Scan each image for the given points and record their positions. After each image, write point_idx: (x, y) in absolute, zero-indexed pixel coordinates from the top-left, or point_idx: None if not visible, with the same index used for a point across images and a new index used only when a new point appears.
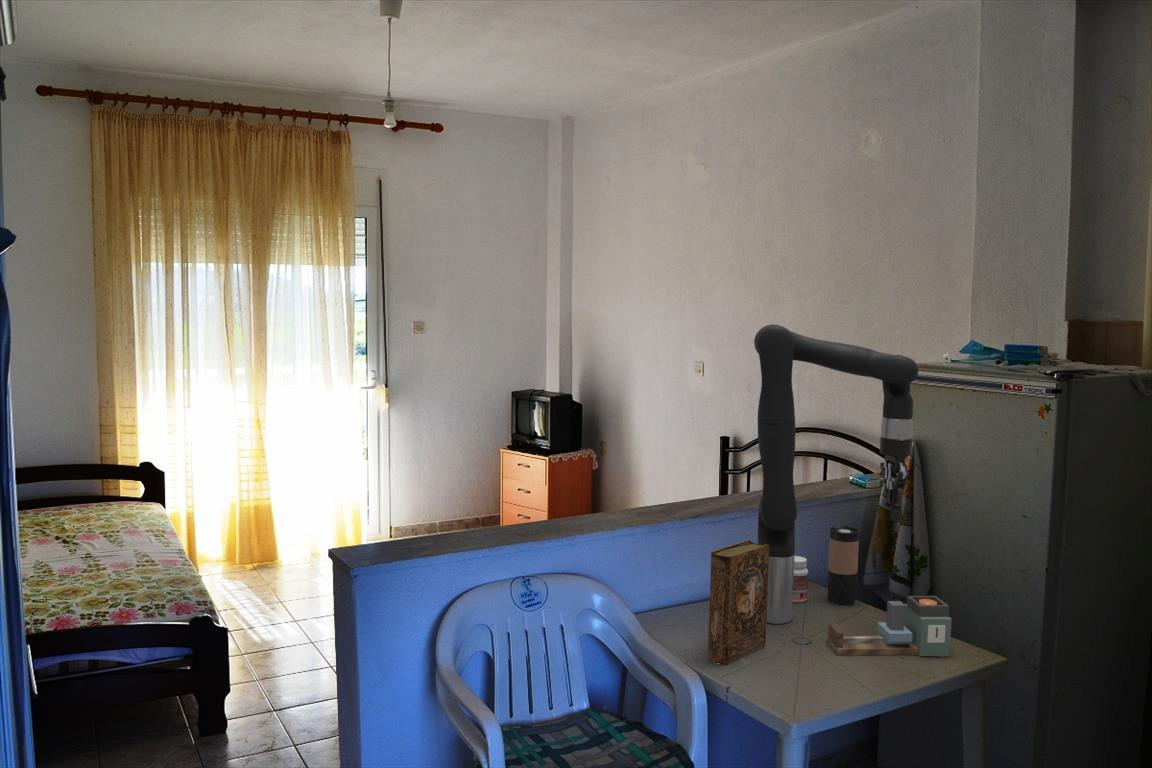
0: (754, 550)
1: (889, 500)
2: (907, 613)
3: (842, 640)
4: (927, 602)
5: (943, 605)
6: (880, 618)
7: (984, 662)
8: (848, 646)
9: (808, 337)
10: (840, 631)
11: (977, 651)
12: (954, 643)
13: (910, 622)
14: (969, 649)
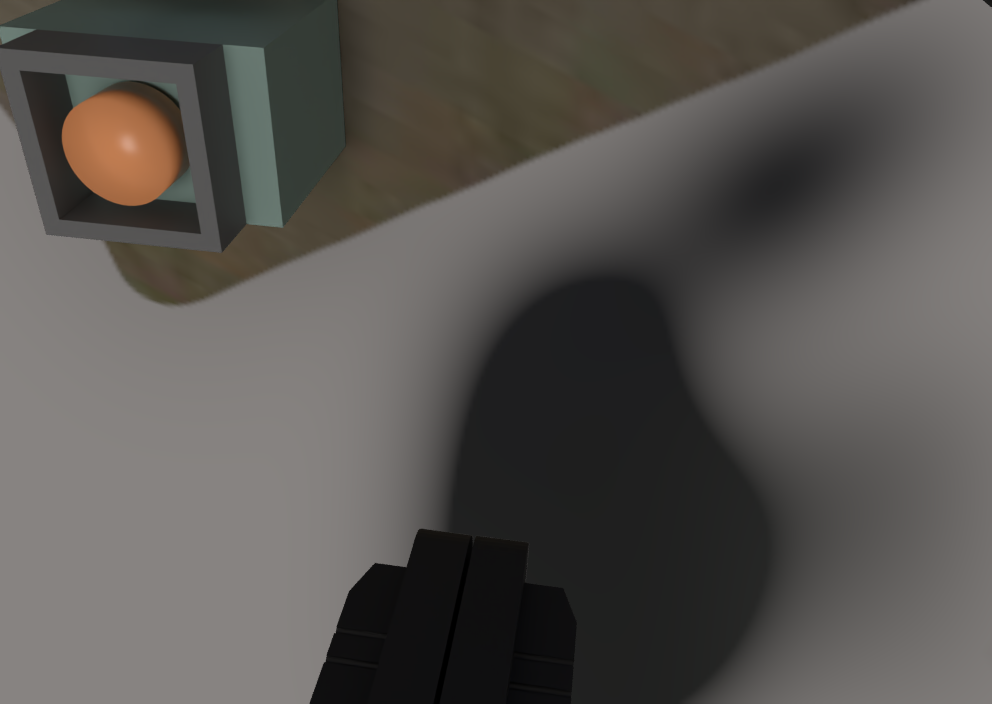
0: None
1: (412, 570)
2: (223, 32)
3: None
4: (100, 143)
5: (52, 208)
6: (663, 25)
7: (111, 241)
8: None
9: None
10: None
11: (225, 277)
12: (307, 233)
13: (188, 17)
14: (244, 258)
